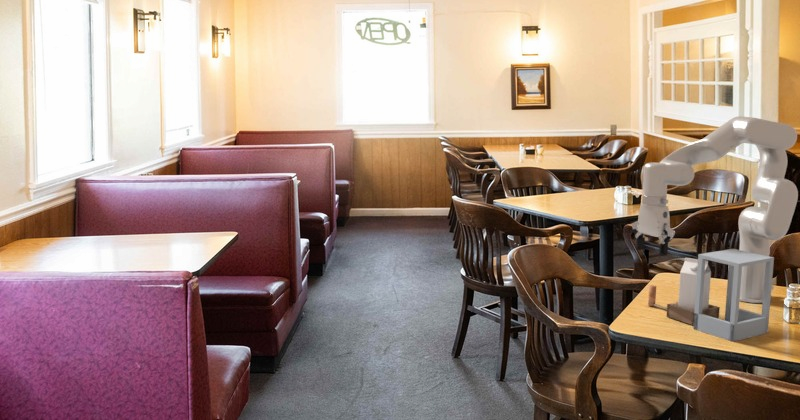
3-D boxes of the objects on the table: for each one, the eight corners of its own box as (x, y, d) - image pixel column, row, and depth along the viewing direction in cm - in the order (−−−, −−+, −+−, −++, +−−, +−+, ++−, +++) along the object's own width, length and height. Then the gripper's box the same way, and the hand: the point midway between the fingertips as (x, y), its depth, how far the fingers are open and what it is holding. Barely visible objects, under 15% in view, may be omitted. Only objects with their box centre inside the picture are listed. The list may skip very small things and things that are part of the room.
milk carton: (685, 313, 270) (689, 255, 267) (707, 318, 266) (712, 259, 263) (677, 318, 265) (680, 259, 262) (699, 323, 261) (703, 262, 257)
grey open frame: (727, 320, 264) (733, 248, 260) (767, 333, 252) (774, 257, 248) (693, 328, 256) (698, 254, 252) (732, 341, 244) (739, 263, 240)
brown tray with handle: (661, 302, 283) (662, 283, 282) (718, 319, 264) (720, 299, 263) (636, 307, 277) (637, 287, 276) (693, 325, 258) (695, 304, 257)
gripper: (683, 203, 269) (680, 256, 272) (641, 196, 284) (639, 246, 287) (667, 205, 266) (664, 258, 268) (625, 198, 280) (623, 248, 283)
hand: (651, 252), depth 278 cm, fingers open, 9 cm apart
